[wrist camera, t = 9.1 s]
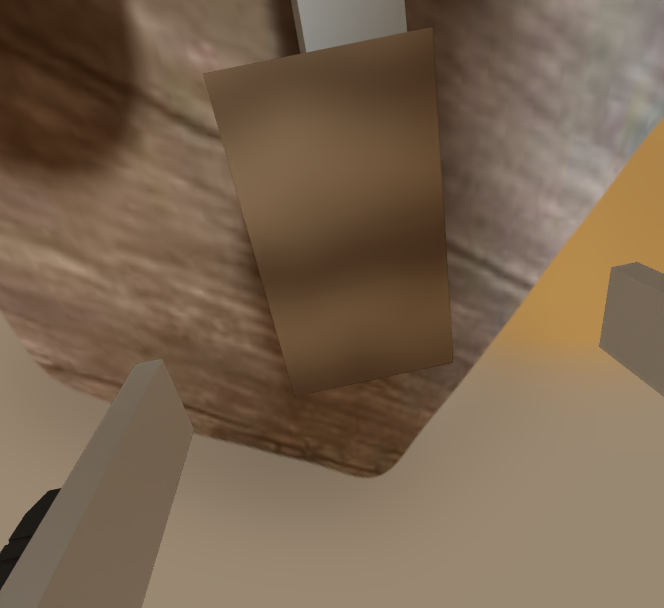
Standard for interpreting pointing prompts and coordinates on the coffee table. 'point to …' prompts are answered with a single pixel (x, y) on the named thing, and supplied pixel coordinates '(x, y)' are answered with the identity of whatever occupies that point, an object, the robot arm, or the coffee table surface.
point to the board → (344, 204)
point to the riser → (345, 21)
